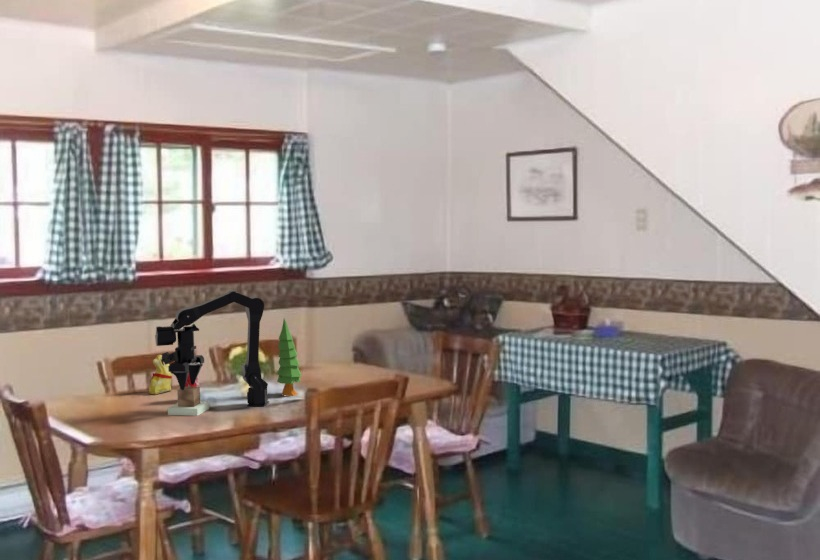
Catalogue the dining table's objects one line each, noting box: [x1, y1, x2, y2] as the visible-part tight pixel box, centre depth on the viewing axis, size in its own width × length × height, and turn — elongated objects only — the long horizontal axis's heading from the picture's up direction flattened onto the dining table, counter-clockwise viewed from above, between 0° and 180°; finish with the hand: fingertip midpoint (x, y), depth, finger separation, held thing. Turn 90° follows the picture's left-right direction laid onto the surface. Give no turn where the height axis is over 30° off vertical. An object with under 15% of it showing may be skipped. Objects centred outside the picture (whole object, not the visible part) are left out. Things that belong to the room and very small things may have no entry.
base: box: [167, 401, 210, 417], centre depth 347 cm, size 11×11×3 cm
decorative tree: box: [276, 317, 302, 397], centre depth 371 cm, size 10×9×30 cm
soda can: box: [185, 370, 200, 387], centre depth 364 cm, size 7×7×12 cm
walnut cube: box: [176, 386, 201, 407], centre depth 346 cm, size 6×6×6 cm
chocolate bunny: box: [148, 354, 173, 395], centre depth 381 cm, size 7×11×15 cm, turn 141°
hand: (187, 387), depth 346 cm, fingers open, 9 cm apart
